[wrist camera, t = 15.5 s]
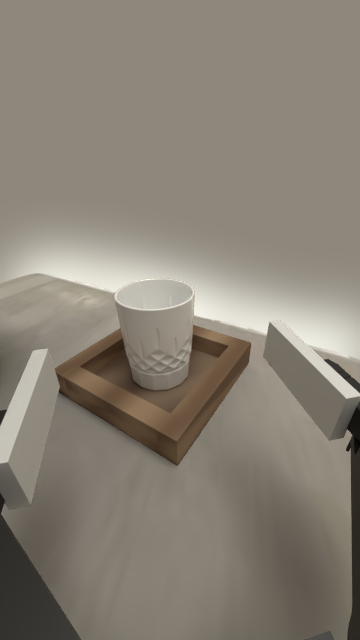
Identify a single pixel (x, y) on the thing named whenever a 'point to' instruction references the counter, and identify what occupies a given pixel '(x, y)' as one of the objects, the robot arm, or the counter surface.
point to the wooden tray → (155, 406)
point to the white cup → (157, 330)
